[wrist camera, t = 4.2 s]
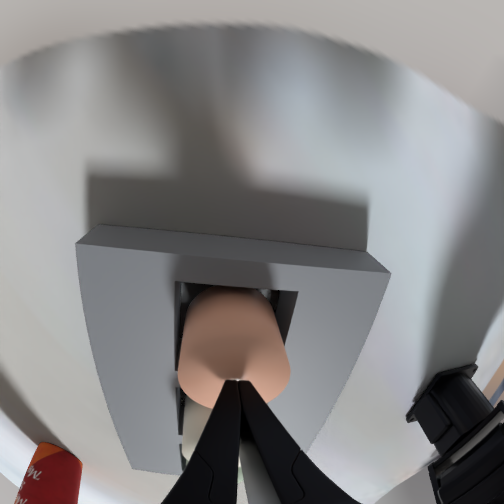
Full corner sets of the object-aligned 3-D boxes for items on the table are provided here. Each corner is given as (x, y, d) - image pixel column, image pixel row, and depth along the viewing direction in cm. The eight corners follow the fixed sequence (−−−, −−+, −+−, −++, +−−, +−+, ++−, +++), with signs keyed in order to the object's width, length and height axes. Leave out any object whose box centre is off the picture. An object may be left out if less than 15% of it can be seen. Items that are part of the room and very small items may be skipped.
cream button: (259, 383, 14) (269, 435, 11) (249, 423, 16) (255, 468, 13) (184, 379, 14) (180, 432, 11) (185, 419, 15) (183, 466, 12)
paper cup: (25, 426, 18) (-8, 528, 5) (90, 456, 20) (70, 567, 7) (37, 454, 20) (14, 538, 7) (92, 477, 22) (79, 567, 9)
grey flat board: (367, 251, 14) (391, 273, 12) (286, 452, 21) (291, 475, 18) (98, 224, 12) (75, 243, 10) (135, 445, 19) (132, 468, 16)
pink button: (282, 287, 12) (302, 338, 9) (266, 356, 14) (278, 411, 11) (187, 279, 12) (177, 330, 8) (185, 351, 13) (178, 407, 10)
